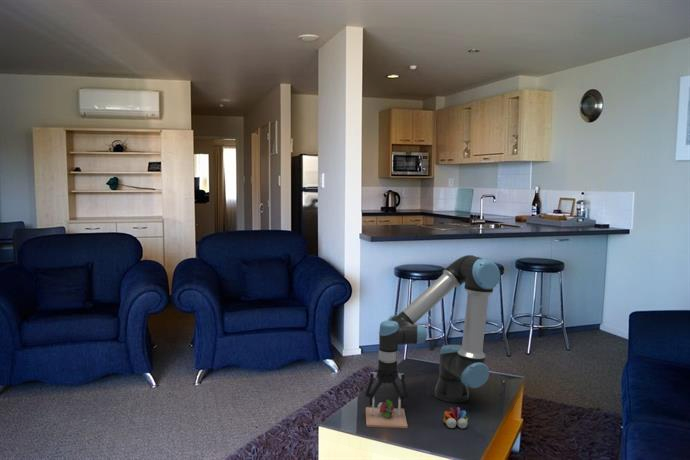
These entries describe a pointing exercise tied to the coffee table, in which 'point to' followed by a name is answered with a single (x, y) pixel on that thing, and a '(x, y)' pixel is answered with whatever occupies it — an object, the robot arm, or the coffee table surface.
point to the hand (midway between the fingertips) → (385, 413)
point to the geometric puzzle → (386, 408)
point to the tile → (385, 419)
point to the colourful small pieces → (455, 418)
